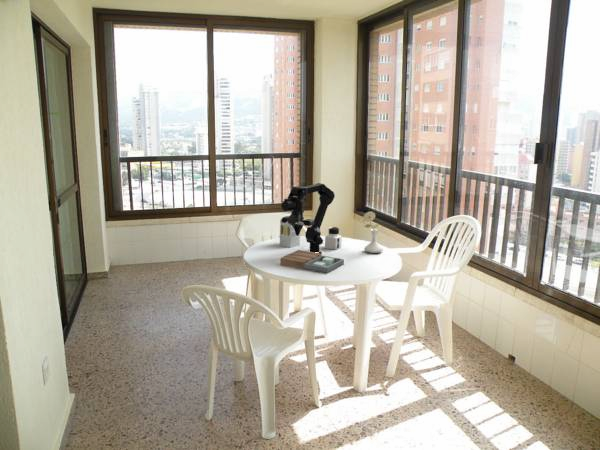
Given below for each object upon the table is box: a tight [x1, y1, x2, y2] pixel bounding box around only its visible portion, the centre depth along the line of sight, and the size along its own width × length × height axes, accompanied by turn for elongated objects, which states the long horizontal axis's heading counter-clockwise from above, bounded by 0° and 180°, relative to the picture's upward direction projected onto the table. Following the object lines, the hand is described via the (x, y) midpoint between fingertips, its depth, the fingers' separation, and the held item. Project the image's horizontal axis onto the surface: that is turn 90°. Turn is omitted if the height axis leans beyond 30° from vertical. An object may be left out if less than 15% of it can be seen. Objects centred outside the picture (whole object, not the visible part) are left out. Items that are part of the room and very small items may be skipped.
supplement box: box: [279, 218, 301, 248], centre depth 329 cm, size 10×9×17 cm
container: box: [324, 226, 343, 251], centre depth 325 cm, size 8×8×13 cm
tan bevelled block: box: [280, 249, 323, 270], centre depth 293 cm, size 20×15×4 cm
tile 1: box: [313, 262, 326, 267], centre depth 282 cm, size 5×5×2 cm
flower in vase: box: [362, 211, 384, 254], centre depth 316 cm, size 13×11×25 cm
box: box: [303, 255, 345, 274], centre depth 286 cm, size 20×14×3 cm
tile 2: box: [322, 256, 335, 265], centre depth 291 cm, size 5×5×2 cm
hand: (297, 235), depth 301 cm, fingers closed
